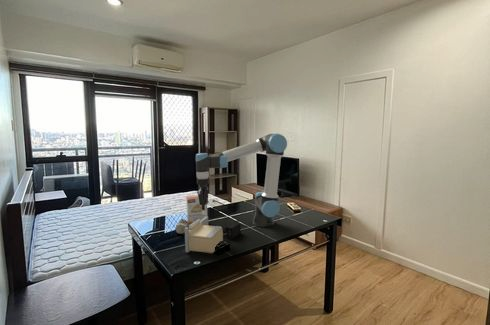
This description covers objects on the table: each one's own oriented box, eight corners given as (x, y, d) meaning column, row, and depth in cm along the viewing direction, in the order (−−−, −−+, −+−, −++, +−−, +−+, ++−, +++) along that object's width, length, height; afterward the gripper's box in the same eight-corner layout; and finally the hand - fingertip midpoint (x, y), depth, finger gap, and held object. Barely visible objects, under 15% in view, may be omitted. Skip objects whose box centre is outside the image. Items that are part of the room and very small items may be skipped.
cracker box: (188, 226, 179) (187, 197, 177) (187, 224, 185) (185, 195, 183) (207, 224, 185) (207, 195, 182) (206, 221, 190) (205, 193, 188)
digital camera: (233, 231, 170) (233, 221, 169) (240, 233, 167) (240, 223, 166) (224, 237, 161) (224, 226, 160) (232, 239, 158) (232, 228, 157)
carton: (228, 234, 164) (227, 214, 163) (211, 255, 137) (210, 231, 136) (206, 232, 168) (205, 212, 167) (185, 252, 141) (184, 228, 140)
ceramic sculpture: (171, 222, 164) (177, 215, 179) (171, 235, 165) (177, 227, 180) (188, 221, 164) (192, 215, 179) (188, 235, 165) (192, 227, 180)
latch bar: (200, 221, 156) (200, 219, 155) (191, 228, 144) (191, 226, 144) (198, 221, 156) (198, 218, 156) (188, 228, 145) (188, 225, 144)
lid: (221, 228, 154) (221, 223, 154) (211, 238, 139) (211, 233, 138) (200, 226, 158) (200, 221, 157) (187, 236, 142) (187, 231, 142)
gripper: (201, 176, 166) (203, 211, 169) (192, 179, 154) (194, 217, 157) (212, 176, 164) (213, 211, 167) (203, 180, 152) (205, 218, 155)
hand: (204, 214), depth 162 cm, fingers closed
